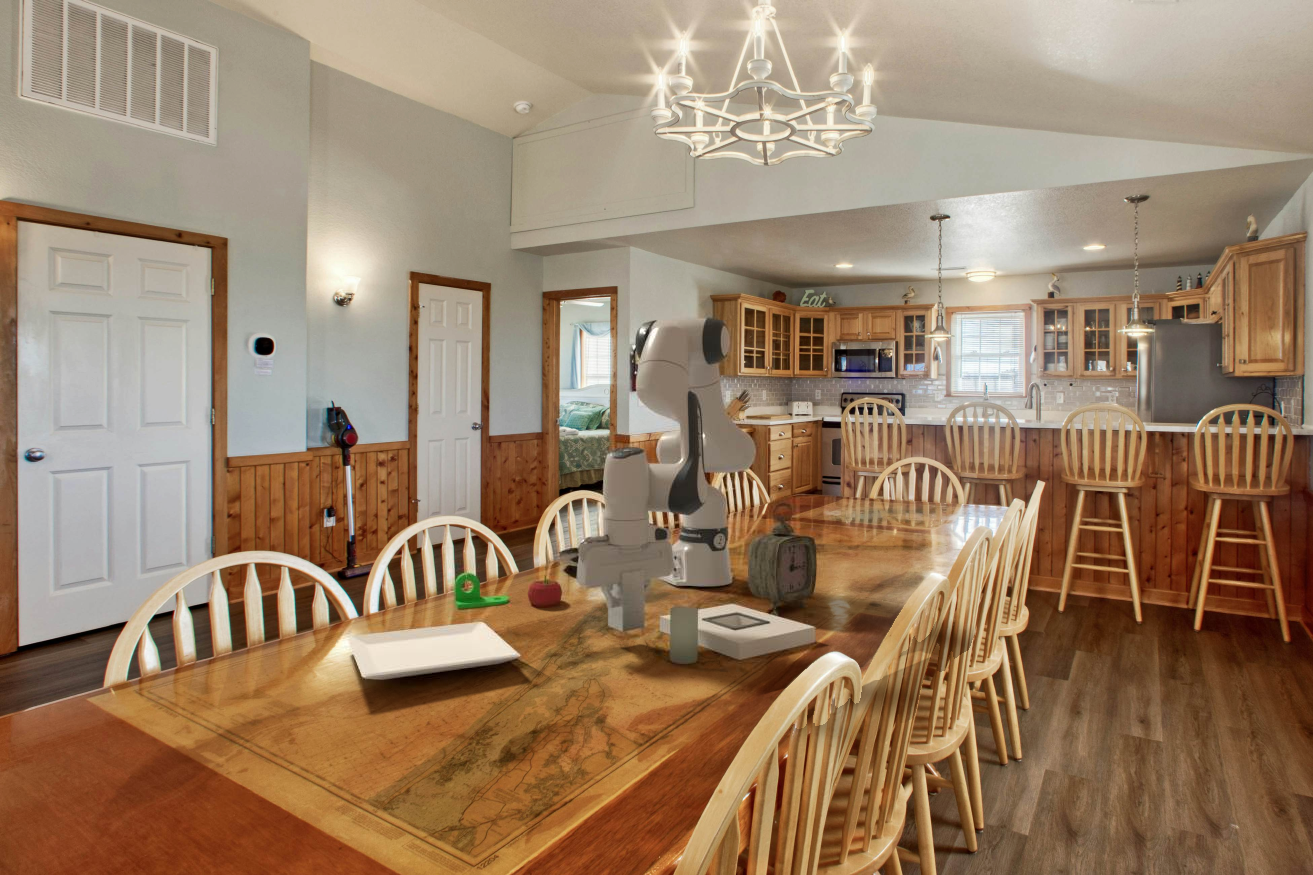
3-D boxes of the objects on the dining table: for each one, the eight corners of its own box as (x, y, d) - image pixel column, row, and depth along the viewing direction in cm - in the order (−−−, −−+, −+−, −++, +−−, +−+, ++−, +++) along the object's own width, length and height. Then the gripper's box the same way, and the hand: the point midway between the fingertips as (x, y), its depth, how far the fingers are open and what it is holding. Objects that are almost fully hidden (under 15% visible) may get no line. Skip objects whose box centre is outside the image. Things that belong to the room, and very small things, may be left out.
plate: (362, 688, 120) (362, 675, 120) (346, 646, 143) (346, 635, 143) (521, 666, 132) (521, 654, 132) (483, 630, 155) (483, 620, 155)
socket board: (659, 630, 154) (659, 614, 154) (732, 617, 166) (732, 602, 166) (739, 659, 135) (739, 641, 135) (815, 642, 147) (815, 625, 147)
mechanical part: (457, 613, 169) (457, 577, 169) (454, 607, 174) (454, 573, 174) (511, 609, 173) (511, 574, 173) (506, 603, 179) (506, 570, 179)
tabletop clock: (775, 621, 163) (776, 506, 163) (744, 613, 170) (745, 503, 169) (816, 611, 172) (817, 502, 172) (785, 604, 179) (786, 499, 179)
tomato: (565, 604, 177) (565, 572, 177) (558, 612, 169) (558, 578, 169) (532, 603, 178) (532, 571, 178) (523, 611, 170) (523, 577, 170)
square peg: (608, 625, 144) (608, 568, 144) (629, 621, 147) (629, 565, 147) (622, 631, 140) (622, 573, 140) (644, 627, 143) (644, 569, 143)
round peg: (664, 658, 136) (664, 608, 136) (685, 653, 139) (686, 605, 139) (681, 665, 132) (681, 614, 132) (703, 660, 135) (703, 610, 135)
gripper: (587, 540, 135) (588, 616, 135) (677, 530, 147) (677, 600, 147) (570, 535, 140) (570, 609, 140) (658, 526, 152) (658, 594, 152)
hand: (626, 604), depth 144 cm, fingers closed on square peg, 5 cm apart
